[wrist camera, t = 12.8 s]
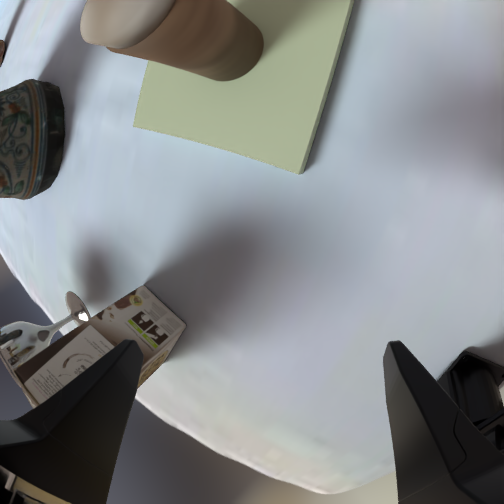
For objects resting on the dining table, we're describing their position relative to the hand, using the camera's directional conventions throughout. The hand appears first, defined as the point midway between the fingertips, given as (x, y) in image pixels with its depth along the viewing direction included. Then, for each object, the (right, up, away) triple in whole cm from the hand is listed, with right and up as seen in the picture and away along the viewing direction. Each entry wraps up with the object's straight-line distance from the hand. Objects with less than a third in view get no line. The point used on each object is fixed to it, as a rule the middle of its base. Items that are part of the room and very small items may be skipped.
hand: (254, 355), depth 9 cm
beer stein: (-30, +18, +20) cm, 40 cm away
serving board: (-1, +17, +7) cm, 19 cm away
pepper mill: (-2, +17, +6) cm, 18 cm away
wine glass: (-26, -6, +27) cm, 38 cm away
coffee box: (-11, -5, +20) cm, 23 cm away
